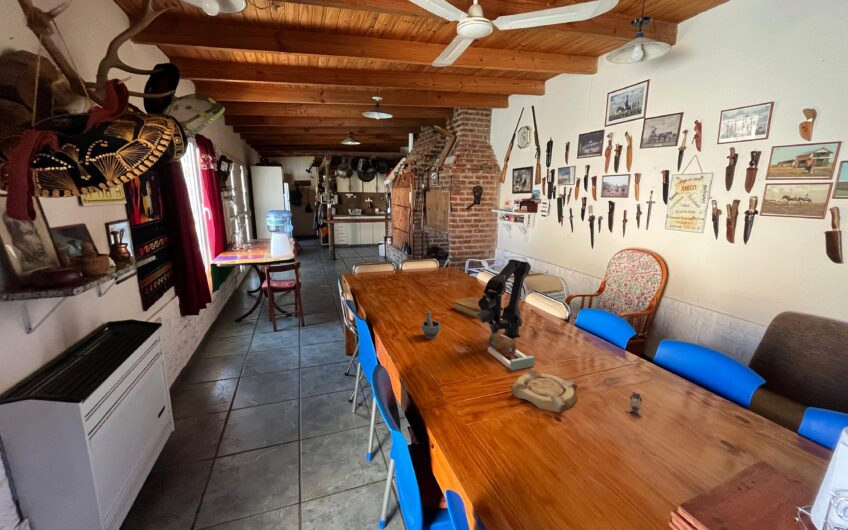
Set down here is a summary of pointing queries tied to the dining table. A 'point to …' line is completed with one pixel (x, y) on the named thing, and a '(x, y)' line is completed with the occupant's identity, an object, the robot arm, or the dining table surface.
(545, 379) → the ashtray
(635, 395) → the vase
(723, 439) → the dining table surface
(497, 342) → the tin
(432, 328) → the mortar and pestle
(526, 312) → the dining table surface
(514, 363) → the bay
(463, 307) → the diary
